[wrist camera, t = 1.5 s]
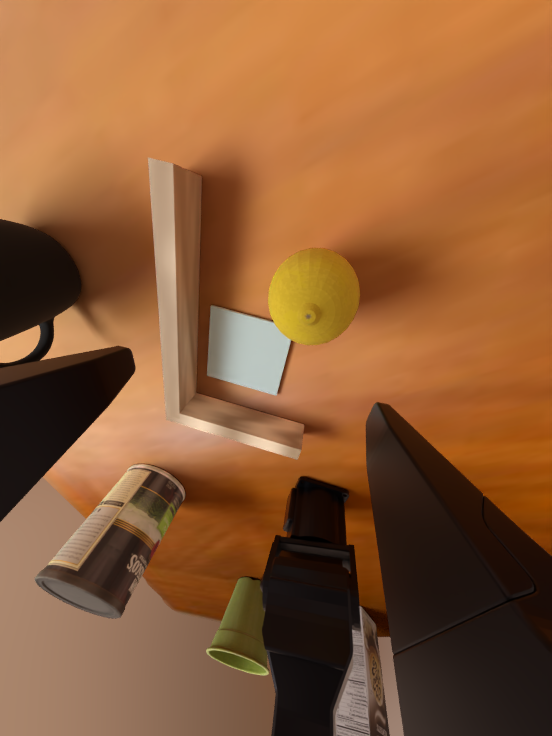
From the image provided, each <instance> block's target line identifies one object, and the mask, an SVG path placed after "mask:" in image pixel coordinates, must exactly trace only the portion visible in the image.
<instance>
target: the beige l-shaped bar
mask: <svg viewBox="0 0 552 736" xmlns="http://www.w3.org/2000/svg"><path fill="white" fill-rule="evenodd" d="M148 166H149V180H150V195H151V209H152V224H153V238H154V252H155V267H156V281H157V296H158V310H159V325H160V339H161V353H162V368H163V382H164V397H165V411H166V420H168V421H171V422H175V423H178V424H181V425H184V426H188V427H191V428H194V429H198V430H201V431H204V432H208V433H211V434H214V435H217V436H221V437H224V438H227V439H231V440H234V441H237V442H241V443H244V444H247V445H250V446H254V447H257V448H260V449H264V450H267V451H270V452H274V453H277V454H280V455H283V456H287V457H290V458H293V459H297V460H298V457H299V455H300V452H301V448H302V440H303V432H304V424H301V423H297V422H294V421H291V420H287V419H284V418H280V417H277V416H274V415H270V414H267V413H263V412H260V411H257V410H253V409H250V408H246V407H243V406H239V405H236V404H233V403H229V402H226V401H222V400H219V399H216V398H212V397H209V396H205V395H202V394H199V393H196V389H197V350H198V311H199V272H200V233H201V194H202V176H200V175H198V174H196V173H193V172H191V171H189V170H187V169H184V168H182V167H180V166H177V165H175V164H173V163H169V162H164V161H160V160H156V159H152V158H148Z"/></svg>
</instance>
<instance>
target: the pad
mask: <svg viewBox="0 0 552 736" xmlns="http://www.w3.org/2000/svg"><path fill="white" fill-rule="evenodd" d="M290 343H291V340H290V339H288V338H287V337H286V336H285V335H283V334H282V333H281V332H280V331H279V329H278V328H277V327H276V325H275V324H274V322H273V321H270V320H266V319H263V318H259V317H255V316H251V315H248V314H244V313H240V312H237V311H233V310H229V309H225V308H222V307H218V306H214V305H211V309H210V328H209V346H208V365H207V376H210V377H213V378H217V379H220V380H224V381H227V382H231V383H234V384H238V385H241V386H245V387H248V388H251V389H255V390H258V391H262V392H265V393H269V394H272V395H277V392H278V388H279V384H280V380H281V377H282V373H283V369H284V365H285V361H286V358H287V354H288V350H289V346H290Z"/></svg>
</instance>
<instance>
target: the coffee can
mask: <svg viewBox="0 0 552 736" xmlns="http://www.w3.org/2000/svg"><path fill="white" fill-rule="evenodd" d="M184 499H185V490H184V488H183V486H182V485H181V483H180V482H179V481H178V480H177V479H176V478H175V477H173V476H172V475H171V474H169V473H168V472H166V471H164V470H163V469H161V468H158V467H156V466H152V465H148V464H136V465H133V466H131V467H130V468H129V469H128V470H127V472H126V473H125V474H124V475H123V477H122V478H121V479H120V480H119V481H118V483H117V484H116V485H115V486H114V487H113V488H112V490H111V491H110V492H109V493H108V494H107V495H106V497H105V498H104V499H103V500H102V501H101V503H100V504H99V505H98V506H97V507H96V508H95V510H94V511H93V512H92V513H91V514H90V516H89V517H88V518H87V519H86V520H85V522H84V523H83V524H82V525H81V526H80V527H79V528H78V530H77V531H76V532H75V533H74V534H73V535H72V537H71V538H70V539H69V540H68V541H67V543H66V544H65V545H64V546H63V547H62V549H61V550H60V551H59V552H58V553H57V555H55V557H54V558H53V559H52V560H51V561H50V563H49V564H48V565H47V566H46V567H45V568H44V569H43V570H42V571H41V572H40V573H39V574H38V575H37V576H36V577H35V581H36V583H37V584H38V585H39V587H41V588H42V589H43V590H45V591H46V592H48V593H49V594H51V595H53V596H54V597H56V598H58V599H59V600H62V601H63V602H65V603H67V604H70V605H72V606H74V607H76V608H79V609H81V610H84V611H86V612H89V613H92V614H95V615H98V616H102V617H107V618H119V617H121V616H122V613H123V612H124V610H125V606H126V604H127V602H128V600H129V598H130V597H131V595H132V593H133V591H134V589H135V587H136V586H137V584H138V582H139V580H140V578H141V577H142V575H143V573H144V571H145V569H146V567H147V566H148V564H149V562H150V560H151V558H152V556H153V554H154V552H155V551H156V549H157V547H158V545H159V543H160V541H161V540H162V538H163V536H164V534H165V532H166V530H167V529H168V527H169V525H170V523H171V521H172V520H173V518H174V516H175V514H176V512H177V510H178V509H179V507H180V505H181V503H182V502H183V500H184Z"/></svg>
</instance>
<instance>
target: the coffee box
mask: <svg viewBox="0 0 552 736" xmlns="http://www.w3.org/2000/svg"><path fill="white" fill-rule="evenodd" d="M360 621H361V632H358V631H354V630H352V635H353V668H352V671H351V673H350V676H349V679H348V681H347V684H346V687H345V690H344V692H343V695H342V698H341V701H340V703H339V706H338V709H337V711H336V715H335V736H390V735H389V727H388V719H387V711H386V704H385V695H384V687H383V679H382V671H381V662H380V655H379V647H378V638H377V631H376V624H375V623H374V622H373V620H372V619H371V618H370V617H369V615H368V614H367V613H366V612H365V610H364V609H363V608H362V607H361V606H360Z"/></svg>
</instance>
